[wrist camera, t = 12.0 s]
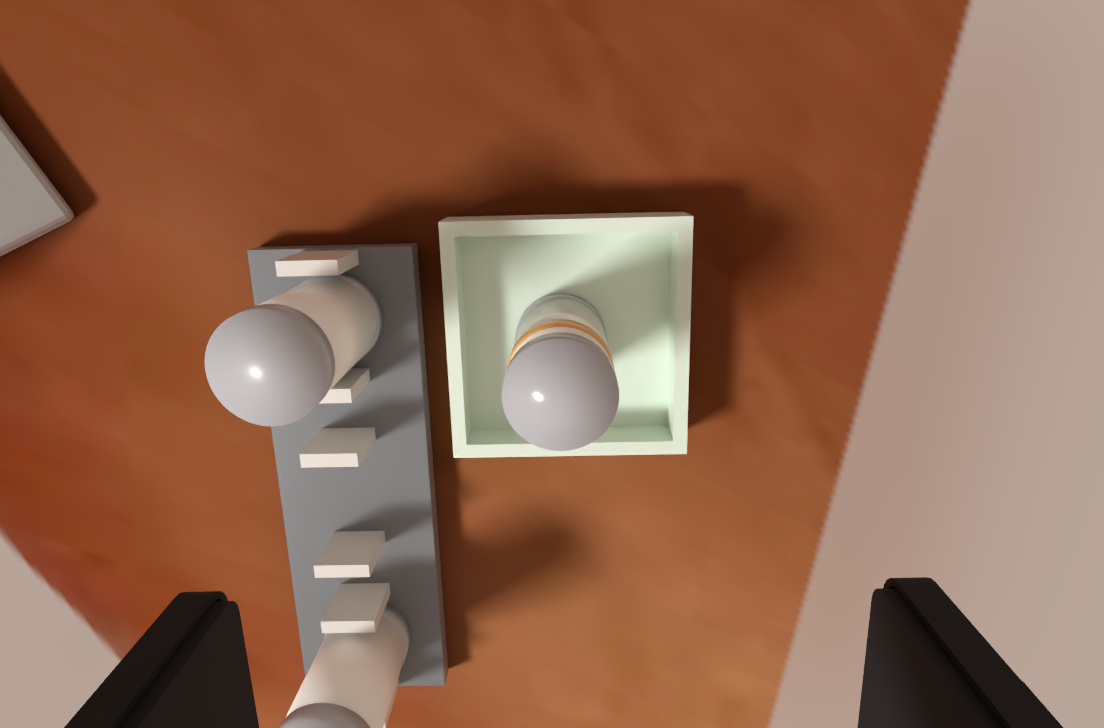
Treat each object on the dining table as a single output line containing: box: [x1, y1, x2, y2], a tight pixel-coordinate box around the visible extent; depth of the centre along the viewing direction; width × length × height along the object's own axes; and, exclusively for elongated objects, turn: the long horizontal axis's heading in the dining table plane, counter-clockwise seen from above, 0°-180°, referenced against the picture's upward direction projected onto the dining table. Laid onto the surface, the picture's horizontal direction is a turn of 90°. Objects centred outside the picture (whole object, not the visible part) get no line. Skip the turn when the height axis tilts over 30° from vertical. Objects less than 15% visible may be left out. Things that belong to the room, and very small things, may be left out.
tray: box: [438, 211, 694, 458], centre depth 32 cm, size 10×10×2 cm
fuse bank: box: [205, 243, 448, 728], centre depth 31 cm, size 22×7×9 cm, turn 1°
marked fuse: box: [502, 293, 619, 451], centre depth 29 cm, size 4×4×8 cm
